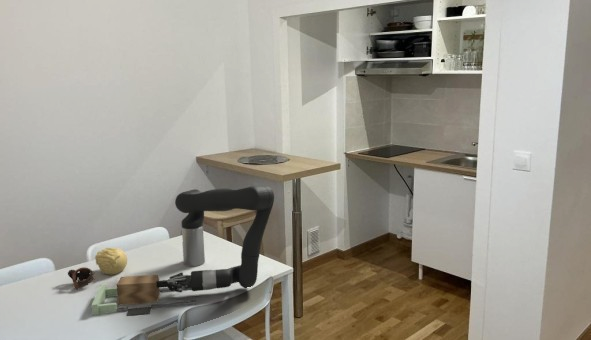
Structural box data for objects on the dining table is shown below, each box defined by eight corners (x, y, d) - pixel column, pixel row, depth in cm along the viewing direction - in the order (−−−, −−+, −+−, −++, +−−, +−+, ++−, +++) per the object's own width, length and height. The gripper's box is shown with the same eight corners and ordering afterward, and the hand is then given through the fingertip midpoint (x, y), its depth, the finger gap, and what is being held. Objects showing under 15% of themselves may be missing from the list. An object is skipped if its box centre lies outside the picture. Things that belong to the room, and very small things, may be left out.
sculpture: (92, 274, 205) (90, 251, 203) (112, 264, 216) (110, 241, 214) (113, 279, 201) (111, 254, 199) (133, 268, 212) (131, 244, 209)
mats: (126, 316, 171) (126, 315, 171) (135, 288, 192) (134, 287, 192) (150, 313, 172) (150, 312, 172) (155, 286, 193) (155, 286, 193)
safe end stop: (92, 315, 172) (91, 305, 171) (101, 294, 187) (100, 285, 186) (116, 313, 173) (115, 302, 172) (123, 292, 188) (122, 283, 188)
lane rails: (116, 311, 174) (116, 309, 174) (123, 293, 188) (122, 291, 187) (195, 304, 179) (195, 301, 179) (196, 287, 193) (196, 284, 192)
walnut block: (118, 304, 179) (116, 284, 177) (122, 296, 186) (120, 276, 184) (157, 302, 181) (155, 282, 179) (159, 293, 187) (158, 274, 186)
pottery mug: (101, 280, 201) (99, 268, 196) (88, 299, 194) (85, 287, 189) (75, 271, 202) (72, 259, 197) (61, 290, 195) (57, 277, 190)
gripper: (203, 264, 190) (157, 268, 187) (203, 278, 178) (154, 282, 175) (204, 281, 192) (159, 286, 189) (204, 297, 179) (156, 301, 176)
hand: (157, 284), depth 182 cm, fingers closed
